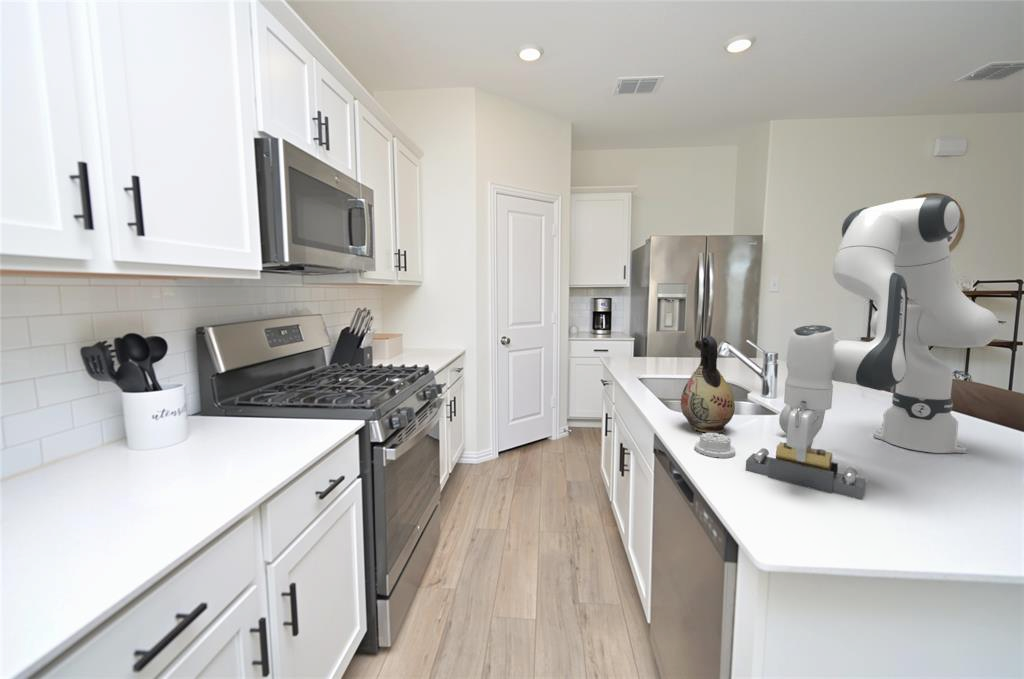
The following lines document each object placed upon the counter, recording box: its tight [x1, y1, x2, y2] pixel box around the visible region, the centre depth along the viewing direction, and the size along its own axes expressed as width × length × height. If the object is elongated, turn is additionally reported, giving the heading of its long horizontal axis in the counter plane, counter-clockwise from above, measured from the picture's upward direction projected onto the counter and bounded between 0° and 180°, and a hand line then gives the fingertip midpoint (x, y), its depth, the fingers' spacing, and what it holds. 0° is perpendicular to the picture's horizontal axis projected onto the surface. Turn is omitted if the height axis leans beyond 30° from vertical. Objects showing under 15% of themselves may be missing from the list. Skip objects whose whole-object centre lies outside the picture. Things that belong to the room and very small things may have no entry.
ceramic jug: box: [680, 335, 736, 434], centre depth 132 cm, size 17×15×30 cm
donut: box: [778, 405, 791, 435], centre depth 128 cm, size 10×4×10 cm, turn 108°
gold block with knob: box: [775, 441, 833, 471], centre depth 98 cm, size 4×10×4 cm, turn 46°
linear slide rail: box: [745, 447, 867, 501], centre depth 98 cm, size 8×22×4 cm, turn 46°
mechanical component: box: [694, 432, 736, 459], centre depth 116 cm, size 10×4×10 cm
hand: (803, 457), depth 98 cm, fingers closed on gold block with knob, 4 cm apart
